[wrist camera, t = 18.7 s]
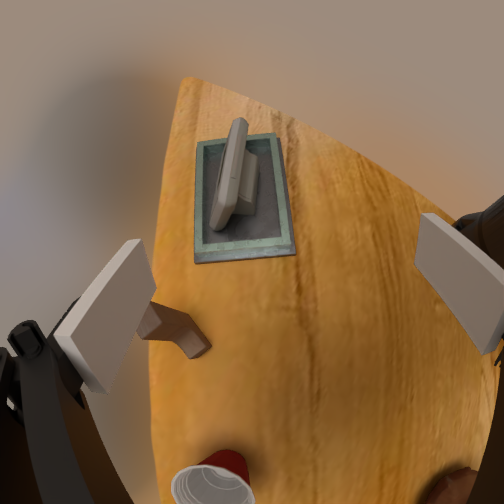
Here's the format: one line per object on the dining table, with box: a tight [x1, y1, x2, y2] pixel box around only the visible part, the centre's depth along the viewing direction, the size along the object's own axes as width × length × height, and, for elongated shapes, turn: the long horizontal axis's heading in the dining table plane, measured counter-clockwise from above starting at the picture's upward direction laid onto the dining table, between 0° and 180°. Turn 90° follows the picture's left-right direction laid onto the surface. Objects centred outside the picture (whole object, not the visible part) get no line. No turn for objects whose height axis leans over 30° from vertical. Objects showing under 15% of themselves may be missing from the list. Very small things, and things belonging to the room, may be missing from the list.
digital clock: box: [209, 117, 260, 231], centre depth 44 cm, size 16×9×11 cm, turn 162°
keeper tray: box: [194, 133, 296, 264], centre depth 48 cm, size 16×23×4 cm
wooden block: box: [136, 301, 212, 359], centre depth 36 cm, size 7×3×15 cm, turn 39°
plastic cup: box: [171, 450, 255, 504], centre depth 30 cm, size 11×11×12 cm
